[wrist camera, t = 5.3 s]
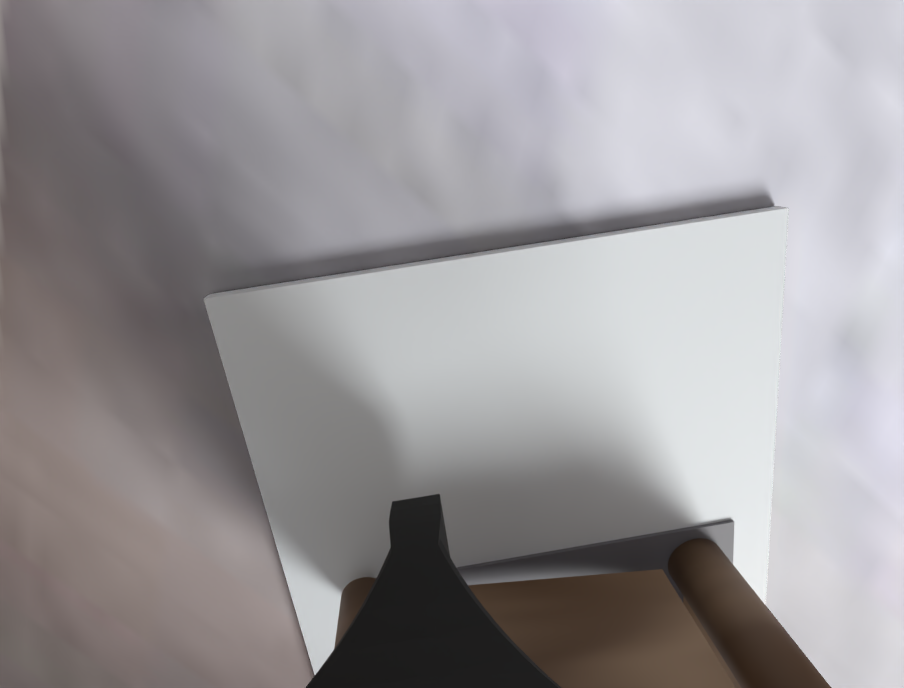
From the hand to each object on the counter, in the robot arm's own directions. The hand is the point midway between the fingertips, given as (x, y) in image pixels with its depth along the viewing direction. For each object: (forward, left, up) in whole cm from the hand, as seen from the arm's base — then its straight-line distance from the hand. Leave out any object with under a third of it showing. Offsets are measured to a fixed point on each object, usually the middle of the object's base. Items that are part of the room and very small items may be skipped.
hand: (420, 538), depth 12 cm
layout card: (-3, -2, -2) cm, 5 cm away
